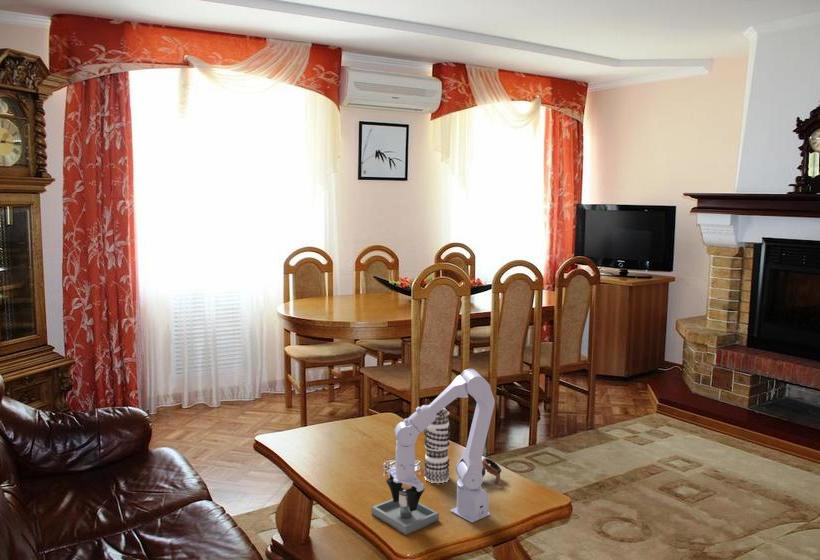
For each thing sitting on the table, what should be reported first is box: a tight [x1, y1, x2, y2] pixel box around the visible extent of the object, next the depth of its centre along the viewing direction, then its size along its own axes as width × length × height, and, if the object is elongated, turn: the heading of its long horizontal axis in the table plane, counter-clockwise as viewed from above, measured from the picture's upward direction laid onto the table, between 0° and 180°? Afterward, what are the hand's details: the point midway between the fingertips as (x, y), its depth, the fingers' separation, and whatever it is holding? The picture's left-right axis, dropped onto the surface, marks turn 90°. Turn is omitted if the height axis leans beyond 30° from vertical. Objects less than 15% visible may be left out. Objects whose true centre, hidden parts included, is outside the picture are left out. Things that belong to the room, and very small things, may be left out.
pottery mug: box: [482, 457, 502, 484], centre depth 229 cm, size 12×10×8 cm
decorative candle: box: [423, 407, 452, 484], centre depth 229 cm, size 9×9×25 cm
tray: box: [371, 498, 440, 536], centre depth 203 cm, size 16×13×2 cm
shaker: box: [399, 486, 412, 519], centre depth 203 cm, size 4×4×8 cm
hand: (405, 505), depth 203 cm, fingers open, 7 cm apart
